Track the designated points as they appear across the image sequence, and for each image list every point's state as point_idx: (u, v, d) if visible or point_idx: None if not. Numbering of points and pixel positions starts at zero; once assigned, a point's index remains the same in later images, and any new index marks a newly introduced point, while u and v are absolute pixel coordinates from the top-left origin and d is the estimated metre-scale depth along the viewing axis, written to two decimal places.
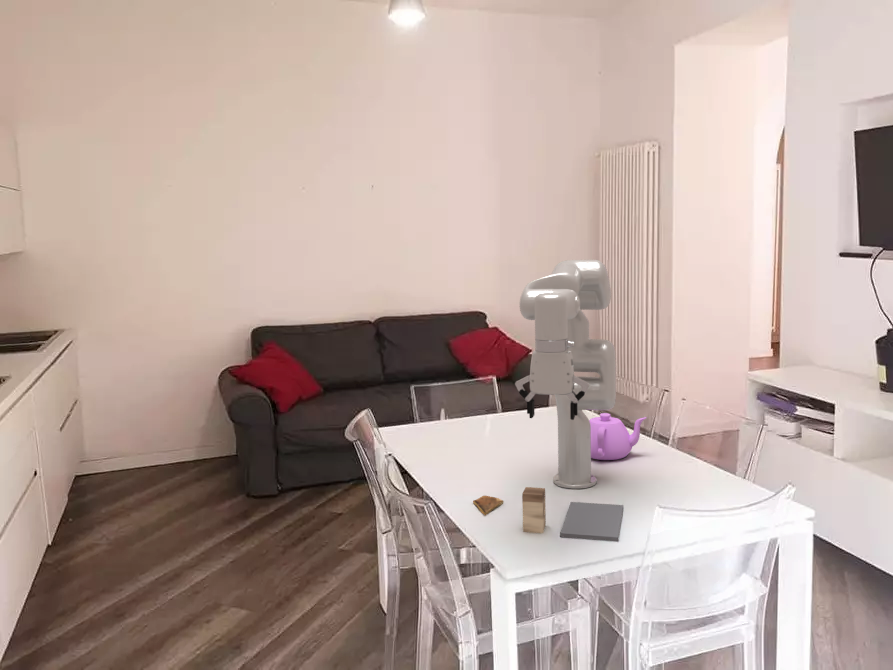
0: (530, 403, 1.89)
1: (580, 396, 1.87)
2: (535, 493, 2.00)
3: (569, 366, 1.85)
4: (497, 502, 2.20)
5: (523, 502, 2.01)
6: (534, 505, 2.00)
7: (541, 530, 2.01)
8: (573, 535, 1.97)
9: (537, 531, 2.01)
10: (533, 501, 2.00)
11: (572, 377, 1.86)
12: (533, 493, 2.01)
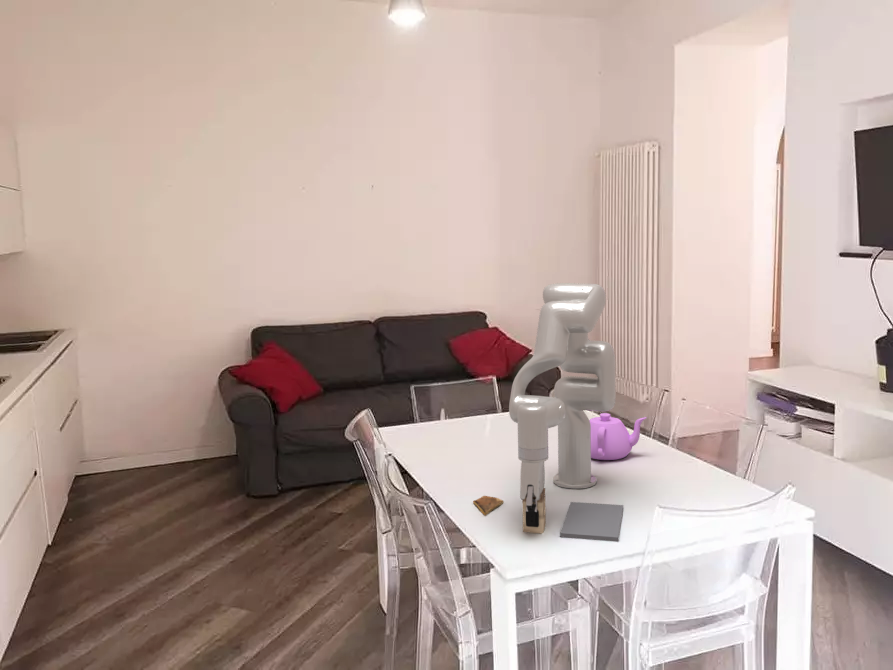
0: None
1: None
2: None
3: None
4: (497, 502, 2.20)
5: (523, 502, 2.01)
6: None
7: (541, 530, 2.01)
8: (573, 535, 1.97)
9: (537, 531, 2.01)
10: None
11: None
12: None
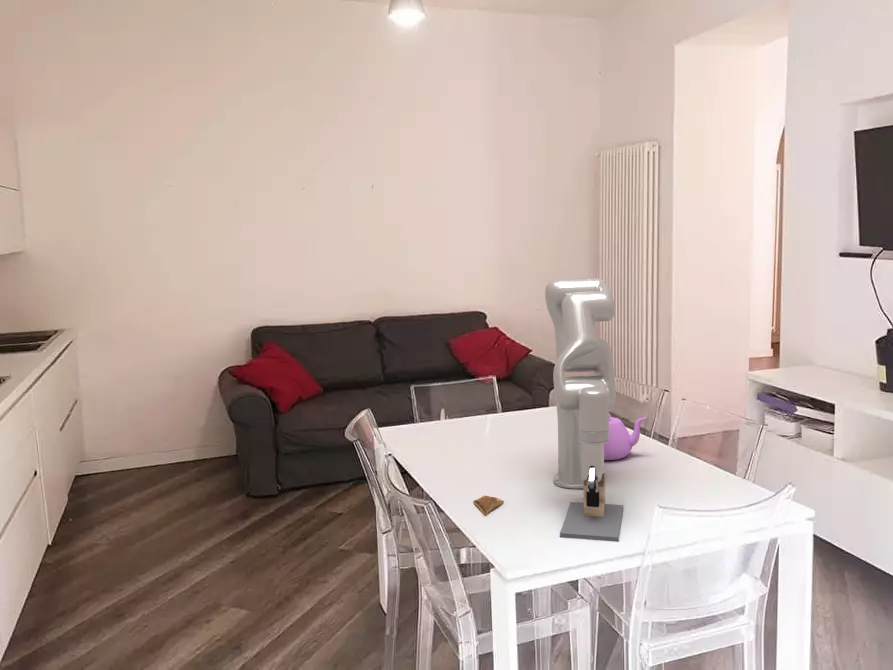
0: None
1: None
2: (596, 478, 2.07)
3: None
4: (497, 502, 2.20)
5: (584, 486, 2.08)
6: None
7: (602, 514, 2.07)
8: (573, 535, 1.97)
9: (598, 515, 2.08)
10: None
11: None
12: (594, 478, 2.07)
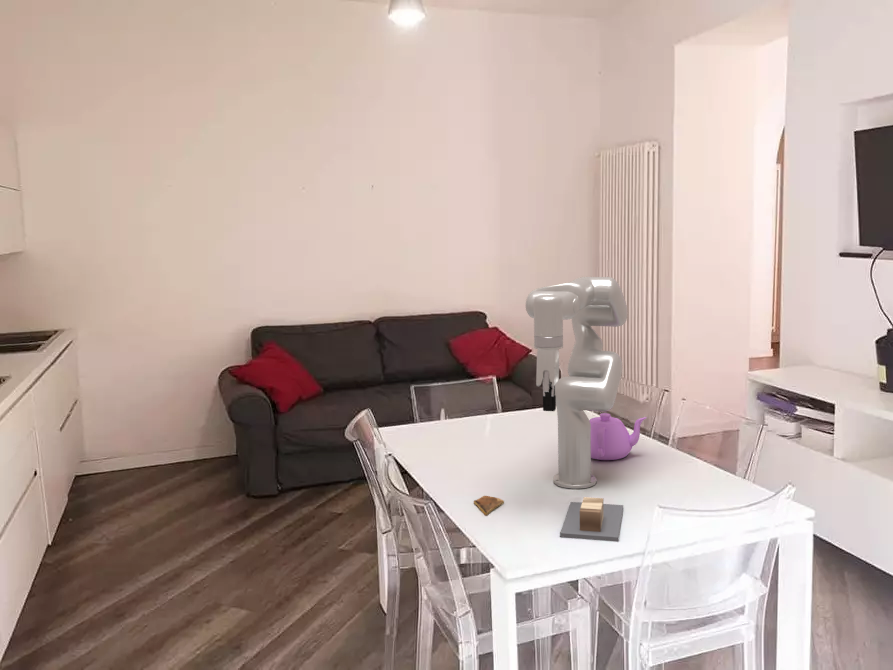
0: None
1: None
2: (592, 528, 1.98)
3: None
4: (498, 502, 2.20)
5: None
6: None
7: None
8: (573, 535, 1.97)
9: None
10: None
11: None
12: (591, 528, 1.98)
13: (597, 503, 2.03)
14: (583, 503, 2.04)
